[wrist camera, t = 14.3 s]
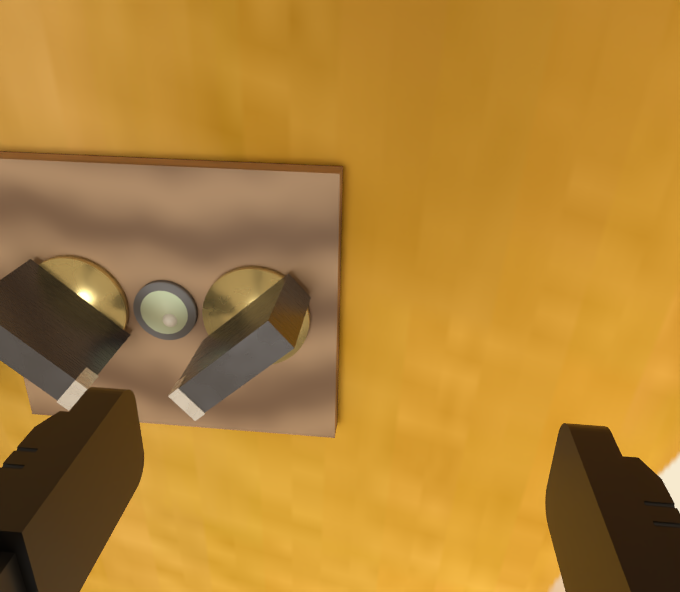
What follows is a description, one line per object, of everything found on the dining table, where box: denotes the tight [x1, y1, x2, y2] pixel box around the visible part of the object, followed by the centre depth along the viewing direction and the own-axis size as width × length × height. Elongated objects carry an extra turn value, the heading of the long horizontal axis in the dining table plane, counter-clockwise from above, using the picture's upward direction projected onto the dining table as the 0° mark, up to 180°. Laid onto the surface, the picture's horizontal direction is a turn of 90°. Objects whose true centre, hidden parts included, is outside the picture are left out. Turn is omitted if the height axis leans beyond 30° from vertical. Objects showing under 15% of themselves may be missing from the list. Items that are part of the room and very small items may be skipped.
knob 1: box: [0, 255, 130, 411], centre depth 44 cm, size 9×8×8 cm
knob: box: [168, 265, 311, 421], centre depth 43 cm, size 9×8×8 cm
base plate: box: [0, 152, 343, 438], centre depth 47 cm, size 22×26×3 cm
